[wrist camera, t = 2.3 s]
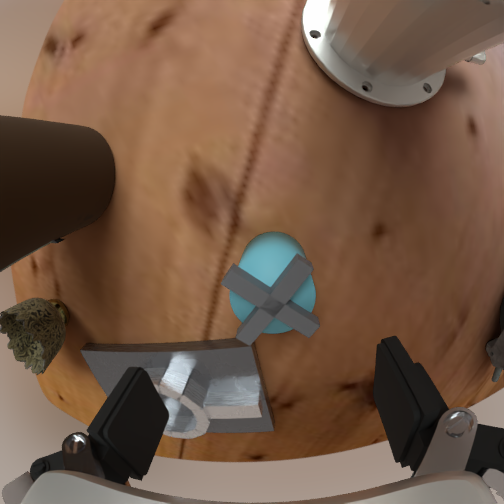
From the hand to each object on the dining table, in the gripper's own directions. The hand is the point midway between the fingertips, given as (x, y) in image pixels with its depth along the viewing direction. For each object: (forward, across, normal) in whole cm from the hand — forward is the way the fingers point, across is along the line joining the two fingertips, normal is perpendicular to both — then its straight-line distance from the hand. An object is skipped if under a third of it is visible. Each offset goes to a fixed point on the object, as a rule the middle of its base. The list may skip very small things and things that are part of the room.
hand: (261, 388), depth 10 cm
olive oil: (+13, +15, -12) cm, 23 cm away
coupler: (+13, -1, -1) cm, 13 cm away
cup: (+13, +24, +1) cm, 28 cm away
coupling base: (+13, +12, +12) cm, 22 cm away
